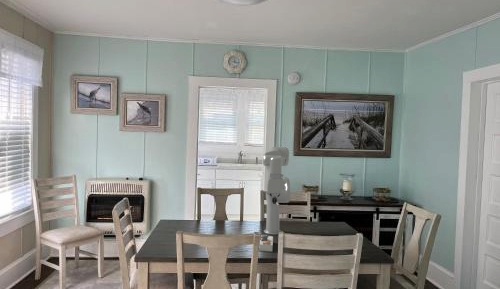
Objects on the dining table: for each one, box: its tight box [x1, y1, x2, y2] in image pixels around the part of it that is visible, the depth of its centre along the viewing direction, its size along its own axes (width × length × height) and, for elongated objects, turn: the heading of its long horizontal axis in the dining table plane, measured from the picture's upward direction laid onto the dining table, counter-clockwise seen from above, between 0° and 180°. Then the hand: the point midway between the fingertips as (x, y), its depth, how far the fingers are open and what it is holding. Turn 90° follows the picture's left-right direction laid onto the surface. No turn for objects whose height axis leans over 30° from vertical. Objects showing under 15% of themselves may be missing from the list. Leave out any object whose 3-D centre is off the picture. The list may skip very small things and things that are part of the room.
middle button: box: [261, 234, 269, 241], centre depth 243 cm, size 4×4×3 cm
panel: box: [258, 235, 274, 253], centre depth 243 cm, size 19×10×4 cm, turn 176°
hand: (274, 203), depth 251 cm, fingers closed
